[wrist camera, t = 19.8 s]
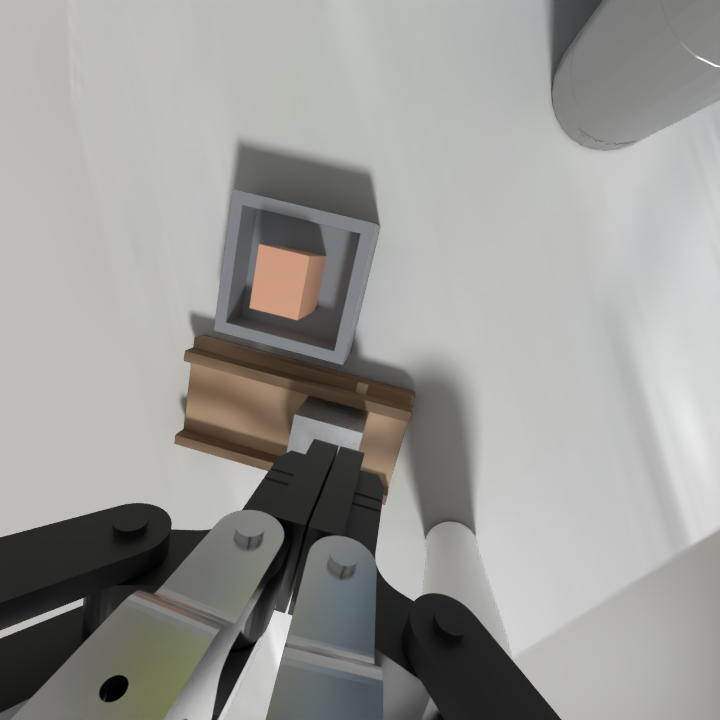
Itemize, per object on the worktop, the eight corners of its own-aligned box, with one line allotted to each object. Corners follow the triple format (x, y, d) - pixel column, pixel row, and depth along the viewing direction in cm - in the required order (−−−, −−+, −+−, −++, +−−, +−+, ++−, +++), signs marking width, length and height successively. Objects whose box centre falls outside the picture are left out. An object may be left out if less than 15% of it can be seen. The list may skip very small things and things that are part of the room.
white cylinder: (405, 535, 43) (399, 676, 28) (454, 500, 41) (474, 633, 27) (447, 577, 43) (462, 736, 29) (497, 545, 42) (540, 697, 27)
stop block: (284, 245, 36) (259, 244, 30) (326, 256, 36) (309, 256, 30) (275, 299, 37) (249, 308, 32) (315, 310, 37) (297, 320, 31)
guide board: (202, 334, 40) (186, 340, 37) (415, 391, 39) (414, 402, 36) (189, 439, 43) (173, 452, 41) (384, 495, 42) (382, 513, 39)
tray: (251, 196, 36) (232, 189, 32) (380, 227, 35) (375, 223, 31) (233, 323, 39) (213, 330, 36) (350, 354, 39) (342, 365, 35)
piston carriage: (309, 394, 38) (294, 414, 34) (369, 410, 38) (362, 433, 33) (296, 457, 40) (280, 484, 36) (353, 473, 40) (344, 503, 35)
